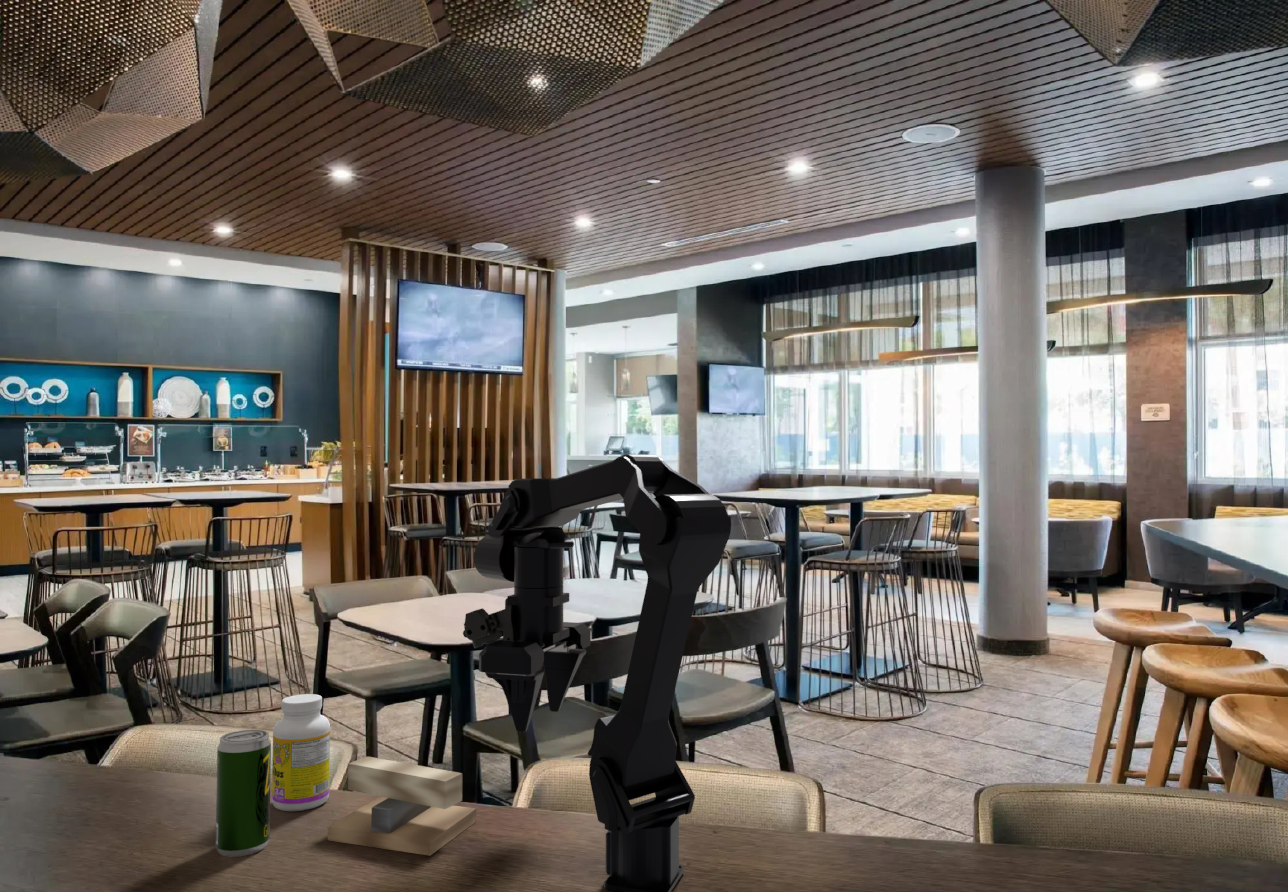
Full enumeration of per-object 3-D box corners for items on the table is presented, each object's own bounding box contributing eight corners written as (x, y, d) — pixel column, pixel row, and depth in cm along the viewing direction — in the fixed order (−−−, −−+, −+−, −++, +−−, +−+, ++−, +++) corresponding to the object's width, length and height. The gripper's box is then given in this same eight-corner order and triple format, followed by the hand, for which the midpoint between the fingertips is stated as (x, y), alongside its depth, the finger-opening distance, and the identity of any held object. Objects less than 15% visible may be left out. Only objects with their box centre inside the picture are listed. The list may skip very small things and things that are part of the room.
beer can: (219, 862, 94) (221, 745, 94) (211, 844, 98) (213, 733, 99) (274, 850, 97) (275, 737, 97) (264, 833, 101) (265, 726, 102)
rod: (462, 800, 101) (462, 773, 101) (445, 809, 98) (445, 781, 98) (366, 781, 107) (367, 756, 107) (348, 789, 104) (348, 763, 104)
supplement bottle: (270, 798, 112) (271, 694, 113) (326, 790, 115) (327, 689, 116) (273, 816, 106) (274, 707, 107) (332, 808, 109) (333, 701, 110)
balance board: (476, 821, 105) (476, 786, 105) (430, 855, 95) (430, 817, 95) (380, 808, 109) (381, 775, 109) (327, 840, 99) (328, 803, 100)
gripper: (511, 575, 116) (511, 697, 116) (436, 593, 98) (435, 737, 98) (592, 578, 113) (592, 703, 112) (529, 596, 95) (528, 745, 94)
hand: (538, 720), depth 104 cm, fingers open, 9 cm apart
